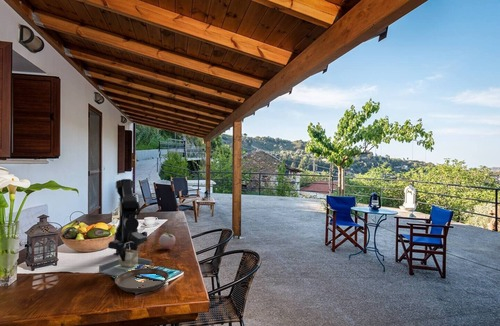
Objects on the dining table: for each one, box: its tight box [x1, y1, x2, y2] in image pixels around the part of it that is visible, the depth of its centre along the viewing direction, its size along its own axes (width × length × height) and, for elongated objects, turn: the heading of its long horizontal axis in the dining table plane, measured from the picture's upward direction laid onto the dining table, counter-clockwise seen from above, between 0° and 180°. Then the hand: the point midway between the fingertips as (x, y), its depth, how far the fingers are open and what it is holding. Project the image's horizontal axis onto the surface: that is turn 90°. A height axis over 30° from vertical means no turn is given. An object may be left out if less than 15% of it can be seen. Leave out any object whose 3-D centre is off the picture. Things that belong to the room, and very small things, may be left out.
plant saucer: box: [114, 267, 170, 294], centre depth 125 cm, size 21×21×3 cm
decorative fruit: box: [158, 231, 176, 250], centre depth 175 cm, size 9×8×10 cm
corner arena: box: [98, 257, 153, 277], centre depth 141 cm, size 15×17×3 cm
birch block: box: [118, 249, 139, 267], centre depth 144 cm, size 5×7×6 cm
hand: (128, 259), depth 144 cm, fingers open, 5 cm apart
